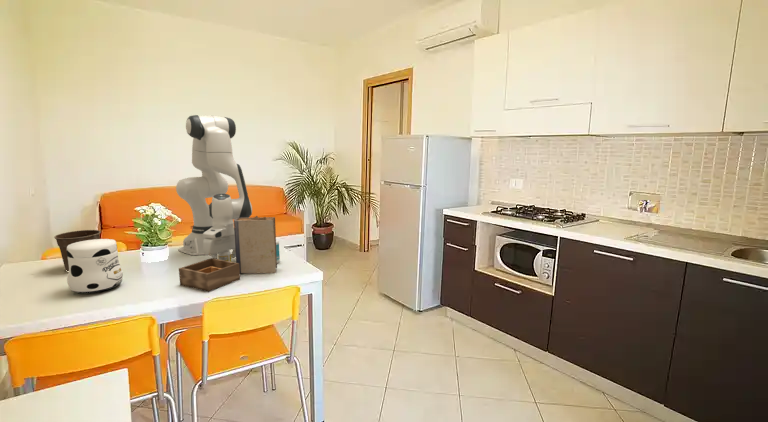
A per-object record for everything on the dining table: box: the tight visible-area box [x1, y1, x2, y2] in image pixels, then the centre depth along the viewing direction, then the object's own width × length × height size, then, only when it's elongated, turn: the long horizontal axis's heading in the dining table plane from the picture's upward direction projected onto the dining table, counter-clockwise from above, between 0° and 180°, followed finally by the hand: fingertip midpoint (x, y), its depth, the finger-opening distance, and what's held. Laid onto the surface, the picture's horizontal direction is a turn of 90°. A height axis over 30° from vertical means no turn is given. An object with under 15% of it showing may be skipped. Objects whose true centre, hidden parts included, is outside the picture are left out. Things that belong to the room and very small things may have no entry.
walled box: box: [178, 257, 241, 293], centre depth 162 cm, size 16×16×7 cm
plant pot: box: [53, 229, 102, 271], centre depth 176 cm, size 16×16×16 cm
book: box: [233, 215, 278, 274], centre depth 174 cm, size 17×7×25 cm, turn 99°
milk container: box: [66, 238, 124, 294], centre depth 153 cm, size 17×17×18 cm
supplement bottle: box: [217, 249, 232, 262], centre depth 180 cm, size 5×5×10 cm
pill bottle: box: [276, 238, 281, 264], centre depth 188 cm, size 8×7×14 cm
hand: (225, 260), depth 180 cm, fingers open, 8 cm apart
